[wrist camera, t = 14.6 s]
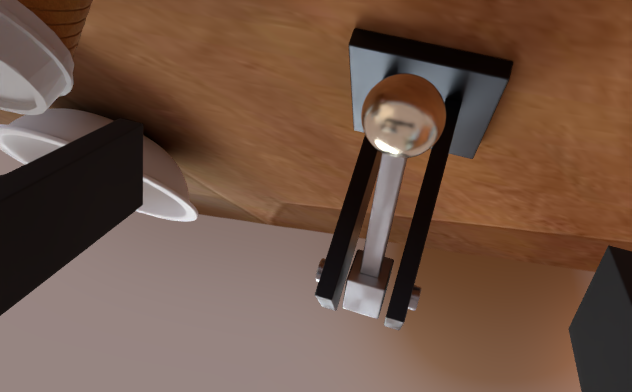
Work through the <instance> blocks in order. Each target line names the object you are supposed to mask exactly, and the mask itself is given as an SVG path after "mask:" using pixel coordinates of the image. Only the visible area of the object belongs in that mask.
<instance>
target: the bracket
mask: <svg viewBox="0 0 632 392" xmlns="http://www.w3.org/2000/svg"><path fill="white" fill-rule="evenodd" d="M349 58H350V74H351V91H352V107H353V124H354V130H356V131H360V132H364V130H363V127H362V121H361V112H362V106H363V103H364V100H365V98H366V96H367V95H368V93H369V91H370V90H371V89H372V88H373V87H374V86H375V85H376V84H377V83H378V82H380V81H381V80H383V79H384V78H386V77H388V76H391V75H395V74H402V73H408V74H414V75H418V76H421V77H423V78H425V79H427V80H428V81H429V82H431V83H432V84H433V85H434V86H435V87H436V88H437V89H438V91H439V92H440V94H441V96H442V98H443V100H444V103H445V108H446V122H445V127H444V129H443V132H442V134H441V136H440V138H439V139H438V141H437V142H436V143H435V144H434V145H433V146H432V147H431V148H430V149H432V150H431V153H430V157H429V161H428V164H427V168H426V172H425V175H424V179H423V183H422V186H421V190H420V194H419V197H418V201H417V205H416V208H415V212H414V216H413V219H412V223H411V227H410V230H409V234H408V238H407V241H406V245H405V249H404V252H403V256H402V259H401V263H400V267H399V270H398V275H397V278H396V281H395V285H394V289H393V293H392V296H391V300H390V303H389V307H388V311H387V315H386V318H385V322H384V326H386V327H390V328H393V329H396V330H400V329H401V327H402V325H403V323H404V321H405V317H406V314H407V310H408V309H410V310H414V311H415V310H416V307H417V304H418V300H419V297H420V292H421V287H419V286H416V285H414V283H415V279H416V276H417V272H418V268H419V264H420V260H421V257H422V253H423V249H424V245H425V241H426V238H427V234H428V230H429V226H430V222H431V219H432V215H433V211H434V207H435V203H436V199H437V196H438V192H439V188H440V184H441V180H442V177H443V173H444V169H445V165H446V161H447V158H448V154H454V155H458V156H462V157H466V158H470V159H473V158H474V155H475V153H476V151H477V149H478V147H479V144H480V142H481V140H482V138H483V136H484V133H485V131H486V129H487V127H488V125H489V123H490V120H491V118H492V116H493V114H494V112H495V109H496V107H497V105H498V103H499V101H500V99H501V96H502V94H503V92H504V90H505V88H506V85H507V83H508V81H509V79H510V74H511V70H512V66H513V62H512V61H508V60H503V59H499V58H494V57H489V56H484V55H480V54H475V53H470V52H465V51H461V50H456V49H451V48H446V47H442V46H437V45H432V44H427V43H423V42H418V41H413V40H408V39H404V38H399V37H394V36H389V35H385V34H380V33H375V32H370V31H365V30H361V29H356V28H355V29H354V31H353V33H352V36H351V39H350V42H349ZM381 156H382V152H380V151H378V150H377V149H376V148H375V147H374V146H373V145H372V144H371V143H370V142H369V140H368V139H367V137H366V135H365V137H364V140H363V143H362V146H361V150H360V153H359V156H358V159H357V162H356V165H355V169H354V172H353V175H352V178H351V181H350V184H349V188H348V191H347V194H346V197H345V200H344V203H343V207H342V210H341V213H340V216H339V219H338V222H337V226H336V229H335V232H334V235H333V238H332V242H331V245H330V248H329V251H328V254H327V257H326V259H324V258H323V259H322V260H321V261H320V263H319V267H318V269H317V273H316V281H318V282H319V283H318V286H317V289H316V292H315V296H316V298H317V299H318V301H319V303H320V304H321V306H322V307H325V308H329V309H332V310H335V311H336V310H337V307H338V304H339V300H340V297H341V293H342V290H343V287H344V284H345V281H346V277H347V274H348V270H349V267H350V264H351V260H352V257H353V254H354V251H355V247H356V243H357V240H358V237H359V234H360V231H361V227H362V224H363V221H364V217H365V214H366V211H367V207H368V204H369V201H370V197H371V194H372V191H373V188H374V184H375V181H376V178H377V174H378V171H379V167H380V162H381Z"/></svg>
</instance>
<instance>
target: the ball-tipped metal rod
mask: <svg viewBox="0 0 632 392" xmlns="http://www.w3.org/2000/svg"><path fill="white" fill-rule="evenodd" d="M361 121H362V127H363V130H364V133H365V135H366V137H367V139H368V140H369V142H370V143H371V144H372V145H373V146H374V147H375V148H376V149H377V150H378V151H380V152H382V156H381V162H380V167H379V172H378V178H377V183H376V188H375V194H374V199H373V204H372V210H371V215H370V220H369V225H368V231H367V236H366V241H365V247H364V251H362V250H357V253H356V255H355V258H354V261H353V264H352V266H351V269H350V272H349V275H348V278H347V281H346V287H345V294H344V300H343V306H342V307H343V308H345V309H347V310H351V311H354V312H357V313H360V314H364V315H367V316H370V317H374V318H377V319H378V318H379V314H380V311H381V307H382V304H383V300H384V297H385V293H386V290H387V286H388V282H389V278H390V274H391V270H392V266H393V262H394V260H393V259H390V258H387V257H384V256H385V252H386V247H387V243H388V239H389V234H390V230H391V226H392V222H393V217H394V213H395V209H396V204H397V200H398V196H399V191H400V187H401V183H402V178H403V174H404V170H405V166H406V161H407V158H410V157H415V156H418V155H420V154H422V153H424V152H426V151H427V150H429V149H430V148H431V147H432V146H433V145H434V144H435V143H436V142H437V141H438V139H439V138H440V136H441V134H442V132H443V129H444V127H445V122H446V108H445V103H444V100H443V98H442V96H441V94H440V92H439V91H438V89H437V88H436V87H435V86H434V85H433V84H432V83H431V82H429V81H428V80H427V79H425V78H423V77H421V76H418V75H414V74H408V73H402V74H395V75H391V76H388V77H386V78H384V79H383V80H381V81H380V82H378V83H377V84H376V85H375V86H374V87H373V88H372V89H371V90H370V91H369V93H368V95H367V96H366V98H365V100H364V103H363V106H362V112H361Z"/></svg>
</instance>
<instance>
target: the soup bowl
mask: <svg viewBox="0 0 632 392" xmlns="http://www.w3.org/2000/svg"><path fill="white" fill-rule="evenodd" d="M113 121H114V120H111V119H108V118H106V117H103V116H100V115H96V114H93V113H89V112H85V111H80V110H75V109H65V108H56V109H47V110H46V111H45V112H44V113H43V114H38V115H24V116H22V117H20V118H18V119H16V120H14V121H13V122H11V123H10V124H8V125H3V124H0V149H1V150H2V151H3V152H5V153H7V154H8V155H9V156H11V157H13V158H14V159H16V160H18V161H19V162H21V163H23V164H25V165H26V164H28V163H30V162H32V161H34V160H36V159H38V158H40V157H42V156H44V155H46V154H48V153H50V152H52V151H54V150H56V149H58V148H60V147H62V146H64V145H66V144H68V143H70V142H72V141H74V140H76V139H78V138H80V137H82V136H85V135H87V134H89V133H91V132H93V131H95V130H97V129H99V128H101V127H103V126H105V125H107V124H109V123H111V122H113ZM136 211H137V212H140V213H144V214H147V215H151V216H155V217H159V218H164V219H169V220H175V221H193V220H196V219H197V217H198V210H197V209H196V207H195V206H194V205H193V204H192V203H191V202H189V192H188V187H187V184H186V181H185V178H184V176H183V174H182V172H181V170H180V168H179V167H178V165H177V164H176V162H175V161H174V160H173V158H172V157H171V156H170V155H169V154H168V153H167V152H166V151H165V150H164V149H163V148H161V147H160V146H159V145H157V144H156V143H155V142H153V141H152V140H150V139H149V138H147V137H146V136H144V135H143V205H142V206H141V207H140V208H138V209H137V210H136Z"/></svg>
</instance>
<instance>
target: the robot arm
mask: <svg viewBox="0 0 632 392" xmlns="http://www.w3.org/2000/svg"><path fill="white" fill-rule="evenodd" d="M142 205H143V124H141V123H138V122H134V121H130V120H126V119H122V118H119V119H117V120H115V121H113V122H111V123H109V124H107V125H105V126H103V127H101V128H99V129H97V130H95V131H93V132H91V133H89V134H87V135H85V136H82V137H80V138H78V139H76V140H74V141H72V142H70V143H68V144H66V145H64V146H62V147H60V148H58V149H56V150H54V151H52V152H50V153H48V154H46V155H44V156H42V157H40V158H38V159H36V160H34V161H32V162H30V163H28V164H26V165H24V166H21V167H20V168H18V169H15V170H13V171H12V172H9V173H7V174H4V175H0V316H1V315H2V314H3V313H4V312H6V311H7V310H8V309H10V308H11V307H12V306H14V305H15V304H16V303H17V302H19V301H20V300H21V299H22V298H24V297H25V296H26V295H28V294H29V293H30V292H32V291H33V290H34V289H35V288H37V287H38V286H39V285H40V284H42V283H43V282H44V281H46V280H47V279H48V278H50V277H51V276H52V275H53V274H55V273H56V272H57V271H58V270H60V269H61V268H62V267H64V266H65V265H66V264H68V263H69V262H70V261H71V260H73V259H74V258H75V257H77V256H78V255H79V254H80V253H82V252H83V251H84V250H85V249H87V248H88V247H89V246H91V245H92V244H93V243H95V242H96V241H97V240H98V239H100V238H101V237H102V236H104V235H105V234H106V233H107V232H108V231H110V230H111V229H112V228H114V227H115V226H116V225H118V224H119V223H120V222H122V221H123V220H124V219H126V218H127V217H128V216H129V215H131V214H132V213H133V212H135V211H136V210H137V209H138V208H140V207H141V206H142ZM569 333H570V338H571V343H572V347H573V352H574V357H575V362H576V367H577V372H578V376H579V381H580V386H581V391H582V392H632V251H628V250H624V249H620V248H616V247H612V246H609V245H608V247H607V249H606V252H605V254H604V256H603V258H602V260H601V262H600V264H599V266H598V268H597V270H596V272H595V275H594V277H593V279H592V281H591V283H590V285H589V287H588V289H587V291H586V293H585V296H584V298H583V300H582V302H581V304H580V306H579V308H578V310H577V312H576V314H575V316H574V318H573V320H572V323H571V325H570V327H569Z"/></svg>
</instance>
